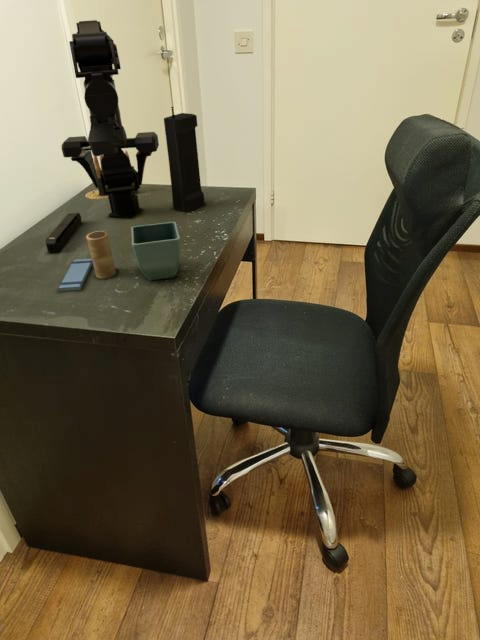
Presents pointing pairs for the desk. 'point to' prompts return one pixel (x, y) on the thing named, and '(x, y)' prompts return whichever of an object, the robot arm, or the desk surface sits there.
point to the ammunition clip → (97, 167)
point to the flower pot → (157, 249)
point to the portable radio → (183, 161)
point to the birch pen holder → (101, 254)
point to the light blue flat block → (76, 275)
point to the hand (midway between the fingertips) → (119, 186)
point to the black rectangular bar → (63, 232)
